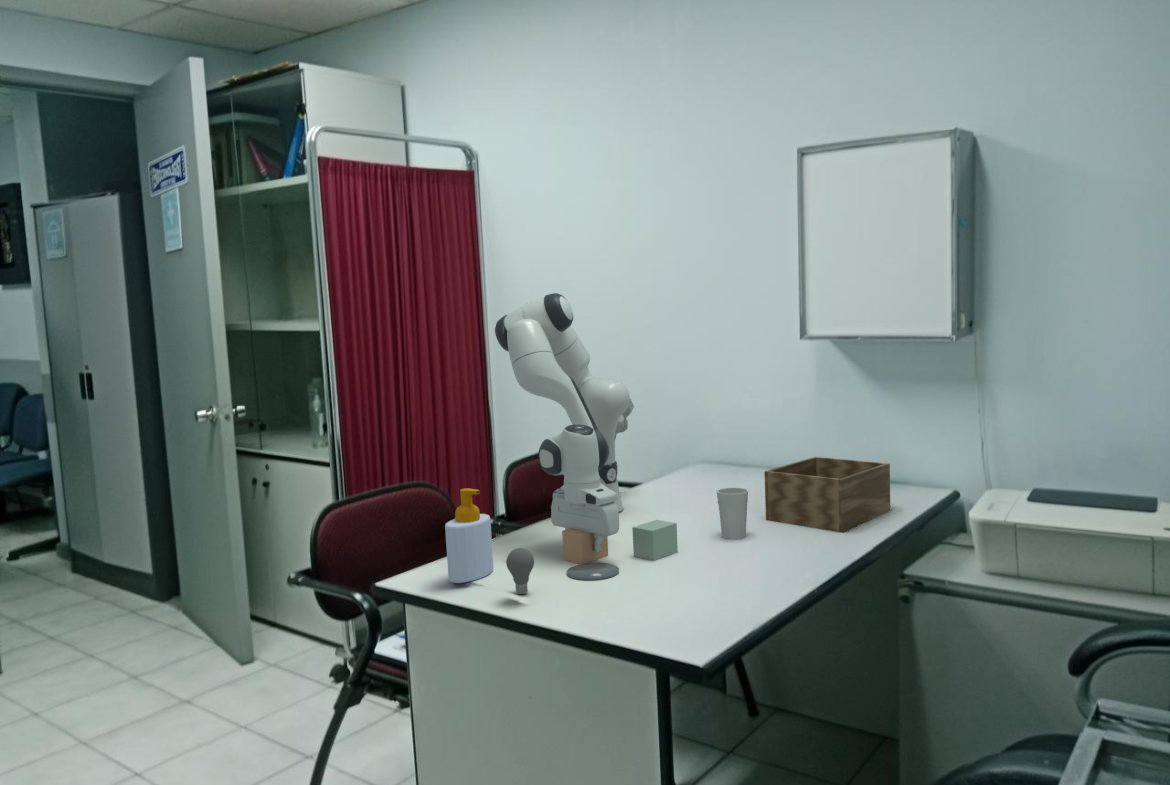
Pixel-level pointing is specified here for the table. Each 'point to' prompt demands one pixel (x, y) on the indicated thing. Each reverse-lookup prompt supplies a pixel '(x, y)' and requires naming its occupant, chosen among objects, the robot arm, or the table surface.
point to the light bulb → (520, 568)
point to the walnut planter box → (827, 493)
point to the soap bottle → (468, 542)
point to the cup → (733, 512)
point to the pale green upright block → (655, 539)
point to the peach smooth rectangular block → (582, 546)
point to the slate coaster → (592, 571)
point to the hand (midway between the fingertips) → (585, 548)
